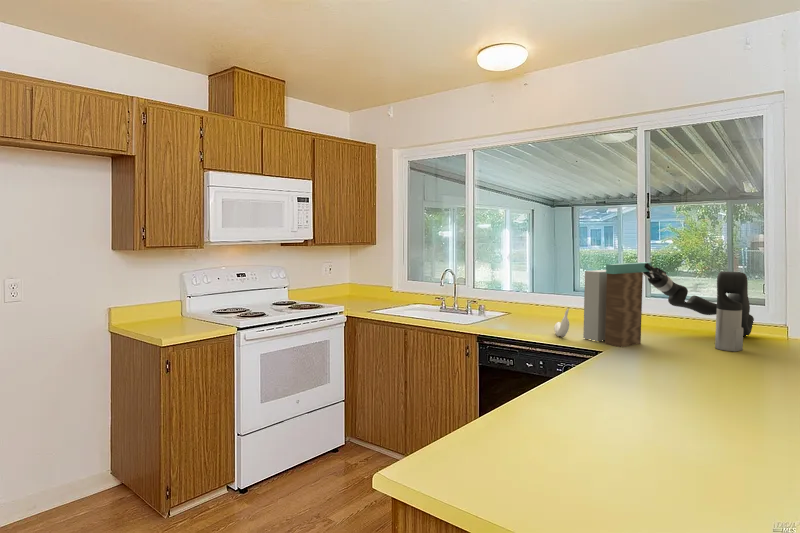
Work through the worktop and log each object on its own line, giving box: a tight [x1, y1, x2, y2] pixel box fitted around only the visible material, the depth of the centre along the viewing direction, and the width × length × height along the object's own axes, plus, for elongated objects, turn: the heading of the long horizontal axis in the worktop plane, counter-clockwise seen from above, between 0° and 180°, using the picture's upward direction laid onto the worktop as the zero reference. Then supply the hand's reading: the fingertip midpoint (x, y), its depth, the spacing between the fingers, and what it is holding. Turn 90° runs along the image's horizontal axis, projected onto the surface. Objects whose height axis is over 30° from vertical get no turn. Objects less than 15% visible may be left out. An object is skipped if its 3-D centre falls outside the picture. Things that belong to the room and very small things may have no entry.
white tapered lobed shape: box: [553, 308, 570, 338], centre depth 252 cm, size 5×19×15 cm, turn 179°
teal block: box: [605, 262, 652, 274], centre depth 235 cm, size 26×4×4 cm, turn 121°
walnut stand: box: [604, 272, 644, 348], centre depth 235 cm, size 14×8×32 cm, turn 121°
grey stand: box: [582, 269, 607, 342], centre depth 245 cm, size 14×8×32 cm, turn 121°
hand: (641, 264), depth 239 cm, fingers closed on teal block, 4 cm apart
